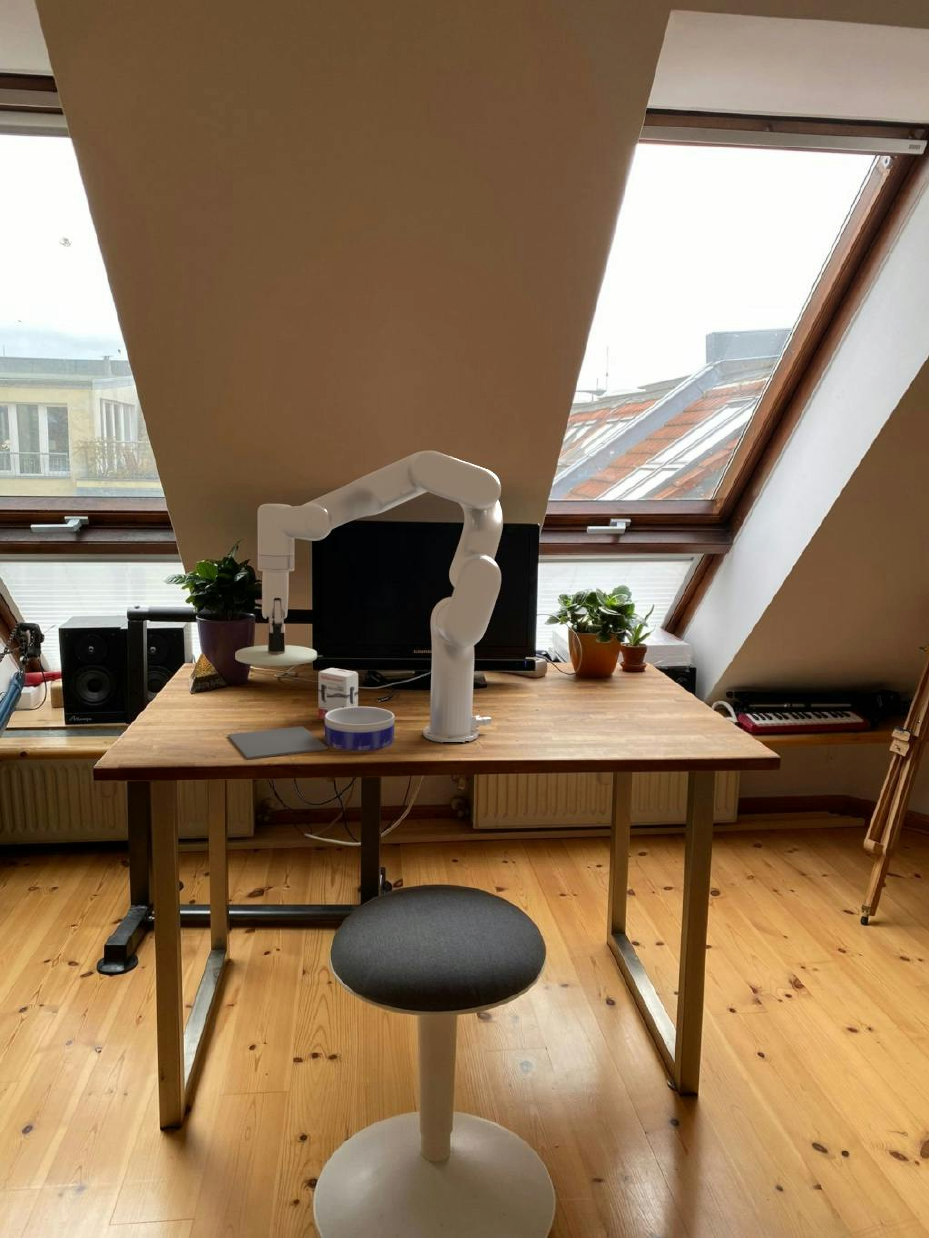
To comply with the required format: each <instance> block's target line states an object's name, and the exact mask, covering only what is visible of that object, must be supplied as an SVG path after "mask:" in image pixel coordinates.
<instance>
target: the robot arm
mask: <svg viewBox="0 0 929 1238" xmlns="http://www.w3.org/2000/svg"><path fill="white" fill-rule="evenodd" d="M427 492H428V493H431V494H432V495H433V494H434V495H435V496H438V497H441V498H444V499H446V500H449V501H452V502H456V503H458V504H459V505H460V506H461V509H462V510H463V514H464V515H463V516H464V523H463V529H462V532H461V535H460V539H459V543H458V545H457V547H456V551H455V553H454V557H453V560H452V562H451V565H450V568H449V572H448V573H449V574H448V576H449V582H450V583H451V585H452V587H453V592H452V594H451V596H448V597H445V598H442V599H441V600H440V601H439V602H437V603H436V605H435V606H434V608H433V609H432V612H431V616H430V635H431V636H430V637H431V670H430V672H431V674H430V675H431V679H430V708H429V710H430V713H429V715H430V716H429V717H430V718H429V725H426V726H425V727H424V728H423V730H422V735H423V737H425V739H428V741H429V740H430V741H433V742H437V743H443V742H463V743H466V742H465V741H469V742H472V741H474V739H475V740H477V738H478V737H479V730H478V729H477V728H479V727H480V726H488V725H491V724H492V718H491V717H490V716H482V717H481V716H480V715H474V714H473V703H474V701H473V699H474V678H475V677H474V674H475V673H474V670H475V645H477V643H479V642H480V640H481V639H482V638H483V637H484V636H485V635H484V634H485V633H486V631H487V628H488V625H489V623H490V620H491V617H492V614H493V611H494V609H495V605H496V601H497V599H498V596H499V593H500V590H501V584H502V572H501V569H500V567H499V565H498V563H497V562H496V561H495V557H496V556H497V555H496V554H497V551H498V547H499V545H500V544H499V543H500V542H501V541H500V540H501V536H502V532H503V528H504V526H503V525H504V518H503V516H504V515H503V511H502V507H501V504H500V501H499V499H500V497H501V493H502V486H501V482H500V479H499V478H498V476H497V475H496V474H495V473H493V472H492V471H491V470H489V469H486V468H483V467H481V466H478V465H475V464H473V463H470V462H466V461H464V460H460V459H458V458H455V457H453V456H450V455H447V454H445V453H442V452H439V451H435V450H423V451H422V450H421V451H418V452H415V453H412V454H411V455H408V456H405V457H404V458H402V459H399V460H397V461H395V462H393V463H390V464H389V465H386V466H384V467H382V468H379V469H377V470H375V471H372V472H371V473H368V474H365V475H363V476H362V477H359V478H358V479H356V480H354V481H352V482H350V483H348V484H346V485H344V486H341V487H340V488H337V489H335V490H333V491H330V492H328V493H326V494H324V495H323V494H322V496H319V497H317V498H315V499H313V500H310V501H308V502H306V503H304V504H302V505H293V506H292V505H290V504H284V503H264V504H261V505H260V506H259V507H258V508H257V571H259V572H262V577H261V578H262V579H261V580H262V581H261V582H262V583H261V614H262V615H261V616H262V617H263V619H264V620H265V619H267V618H268V624H270V633H269V651H270V652H282V651H284V650H285V645H286V632H285V633H284V624H285V623H284V621H285V619H286V618H287V617H288V606H289V587H290V586H289V585H290V584H289V581H290V580H289V577H290V576H289V574H290V572H294V571H295V539H300V540H306V541H310V542H311V541H313V542H315V541H321V540H323V539H325V538H326V537H327V536H329V534H330V533H331V531H332V530H334V529H335V528H337V527H339V526H343V525H344V524H346V523H349V522H352V521H354V520H357V519H360V518H363V517H364V518H365V517H371V516H375V515H378V514H381V513H384V512H386V511H389V510H391V509H392V508H395V507H396V506H399V505H401V504H403V503H405V502H408V501H411V500H412V499H414V498H417V497H418V496H422V495H423V494H426V493H427Z"/></svg>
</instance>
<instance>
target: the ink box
mask: <svg viewBox="0 0 929 1238" xmlns="http://www.w3.org/2000/svg"><path fill="white" fill-rule="evenodd" d="M317 677H318V680H317V681H318V683H317V684H318V692H317V694H318V719H319V720H323V721H325V714H326V713H327V712H329V711H331V710H334V709H338V708H344V707H359V673H358V672H357V671H353V670H347V669H341V668H335V667H330V668H326V669H324V670H320V671H318V673H317Z"/></svg>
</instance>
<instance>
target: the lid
mask: <svg viewBox="0 0 929 1238" xmlns="http://www.w3.org/2000/svg"><path fill="white" fill-rule="evenodd" d="M269 633H270V624H269V623H268V624H267V644H266V645H255V646H249V647H243V648H241V649H238V650H237V651H235V652H234V657H235V658H234V659H235V660H236V661H237V662H240V663H243V664H246V665H251V666H260V667H261V666H263V667H264V666H265V667H281V666H282V667H283V666H284V667H285V666H295V665H302V664H308V663H311V662H313V661H315V660H317V658H318V652H317V650H315V649H314V648H309V647H306V646H300V645H291V644H288V645H287V644H285V650H284V651H282V652H270V651H269ZM284 633H285V634H286V624H285V623H284Z"/></svg>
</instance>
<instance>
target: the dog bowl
mask: <svg viewBox="0 0 929 1238" xmlns="http://www.w3.org/2000/svg"><path fill="white" fill-rule="evenodd" d="M395 717H396V716H395V714H394V713H393V712H392V711H390V710H388V709H384V708H380V707H375V706H358V707H344V708H338V709H334V710H331V711H329V712H327V713H326V714H325V720H324V741H325V743H326V744H327V745H328V746H330V747H331V748H334V749H337V750H342V751H350V752H351V751H352V752H364V751H365V752H367V751H375V750H381V749H383V748H388V747H389V746H391V745H392V744H393V743H394V739H395V738H394V737H395V719H396V718H395Z"/></svg>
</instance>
